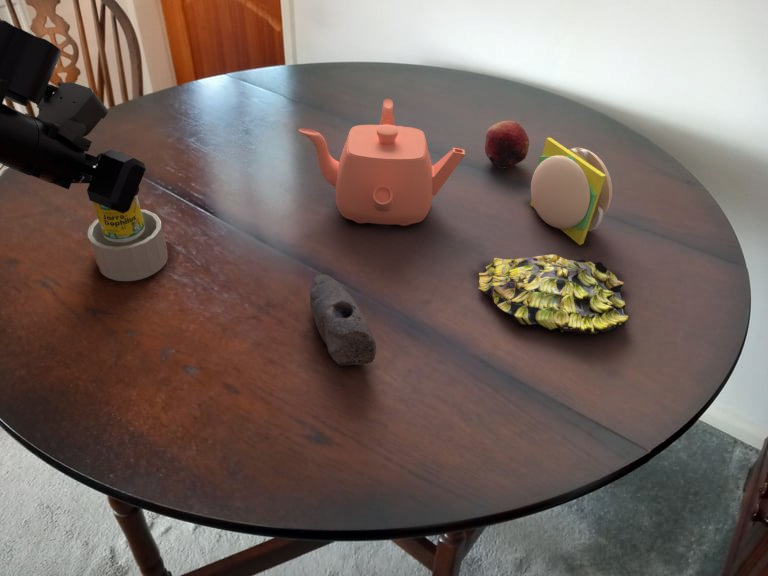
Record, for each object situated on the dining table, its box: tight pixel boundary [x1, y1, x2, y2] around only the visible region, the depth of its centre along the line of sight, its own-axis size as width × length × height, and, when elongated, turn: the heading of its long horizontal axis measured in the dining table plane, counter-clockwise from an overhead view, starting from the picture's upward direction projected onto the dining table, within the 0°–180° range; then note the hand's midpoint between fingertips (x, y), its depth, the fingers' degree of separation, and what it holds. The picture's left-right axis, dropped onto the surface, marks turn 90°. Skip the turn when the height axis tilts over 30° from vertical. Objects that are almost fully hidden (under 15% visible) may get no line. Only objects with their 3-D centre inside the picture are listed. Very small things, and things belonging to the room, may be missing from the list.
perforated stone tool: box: [309, 273, 377, 366], centre depth 75 cm, size 15×5×7 cm, turn 22°
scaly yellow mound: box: [478, 254, 630, 335], centre depth 84 cm, size 20×16×7 cm
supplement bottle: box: [91, 164, 145, 243], centre depth 80 cm, size 5×5×10 cm
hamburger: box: [529, 137, 613, 246], centre depth 95 cm, size 12×8×12 cm
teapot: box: [298, 98, 466, 227], centre depth 94 cm, size 18×18×14 cm
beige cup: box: [87, 208, 169, 282], centre depth 84 cm, size 9×9×6 cm
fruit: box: [484, 120, 530, 169], centre depth 108 cm, size 8×8×8 cm
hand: (121, 185), depth 79 cm, fingers closed on supplement bottle, 5 cm apart
